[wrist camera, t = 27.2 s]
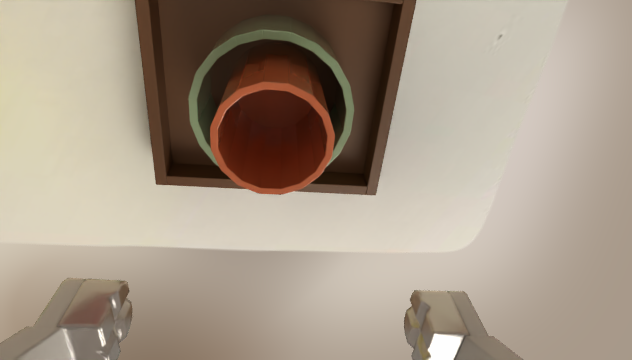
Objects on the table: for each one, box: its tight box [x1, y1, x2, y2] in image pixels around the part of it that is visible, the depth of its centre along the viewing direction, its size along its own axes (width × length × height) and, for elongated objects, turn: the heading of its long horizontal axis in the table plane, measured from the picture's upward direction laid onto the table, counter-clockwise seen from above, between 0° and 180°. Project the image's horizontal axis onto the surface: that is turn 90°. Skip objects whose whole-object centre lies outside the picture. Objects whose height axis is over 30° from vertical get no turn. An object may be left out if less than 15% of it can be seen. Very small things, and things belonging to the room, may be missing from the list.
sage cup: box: [188, 14, 354, 167], centre depth 27 cm, size 10×10×6 cm
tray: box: [135, 0, 416, 195], centre depth 28 cm, size 17×15×3 cm
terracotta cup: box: [210, 42, 335, 195], centre depth 25 cm, size 6×6×9 cm
